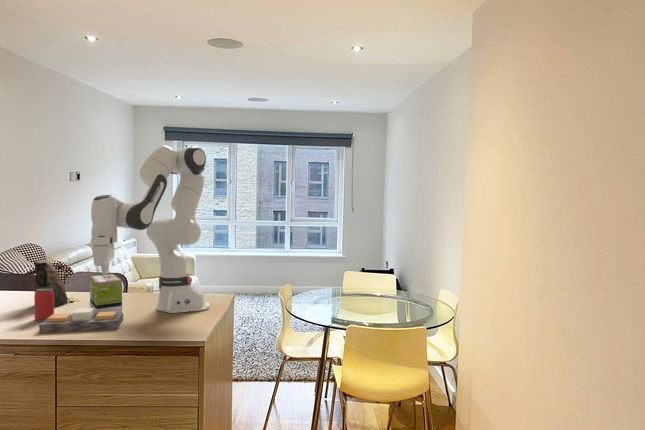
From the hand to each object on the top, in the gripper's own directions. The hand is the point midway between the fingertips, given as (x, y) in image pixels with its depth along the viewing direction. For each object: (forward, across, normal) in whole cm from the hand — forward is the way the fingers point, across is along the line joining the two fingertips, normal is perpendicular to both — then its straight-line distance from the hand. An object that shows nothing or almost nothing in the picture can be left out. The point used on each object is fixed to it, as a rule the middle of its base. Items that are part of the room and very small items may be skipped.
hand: (105, 274), depth 177 cm
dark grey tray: (+19, +1, -8) cm, 21 cm away
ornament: (+20, -43, -5) cm, 48 cm away
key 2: (+18, +1, 0) cm, 18 cm away
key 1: (+18, +1, -16) cm, 24 cm away
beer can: (+20, -12, -24) cm, 34 cm away
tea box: (+20, -19, -4) cm, 28 cm away
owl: (+20, -35, -28) cm, 49 cm away
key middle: (+17, +1, -8) cm, 18 cm away
